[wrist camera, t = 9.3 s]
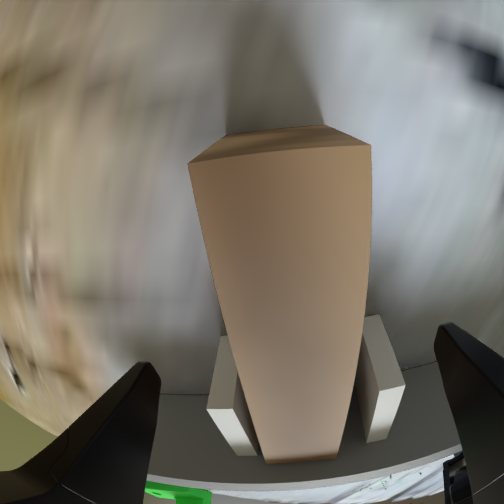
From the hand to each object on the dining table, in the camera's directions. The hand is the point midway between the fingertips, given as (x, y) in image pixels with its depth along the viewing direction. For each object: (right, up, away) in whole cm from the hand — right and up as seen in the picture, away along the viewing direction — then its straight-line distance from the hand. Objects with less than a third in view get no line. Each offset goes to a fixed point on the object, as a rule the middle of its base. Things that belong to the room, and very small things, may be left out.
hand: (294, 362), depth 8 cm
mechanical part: (-14, -36, +28) cm, 48 cm away
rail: (+1, +1, +7) cm, 7 cm away
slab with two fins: (+2, -4, +10) cm, 11 cm away
